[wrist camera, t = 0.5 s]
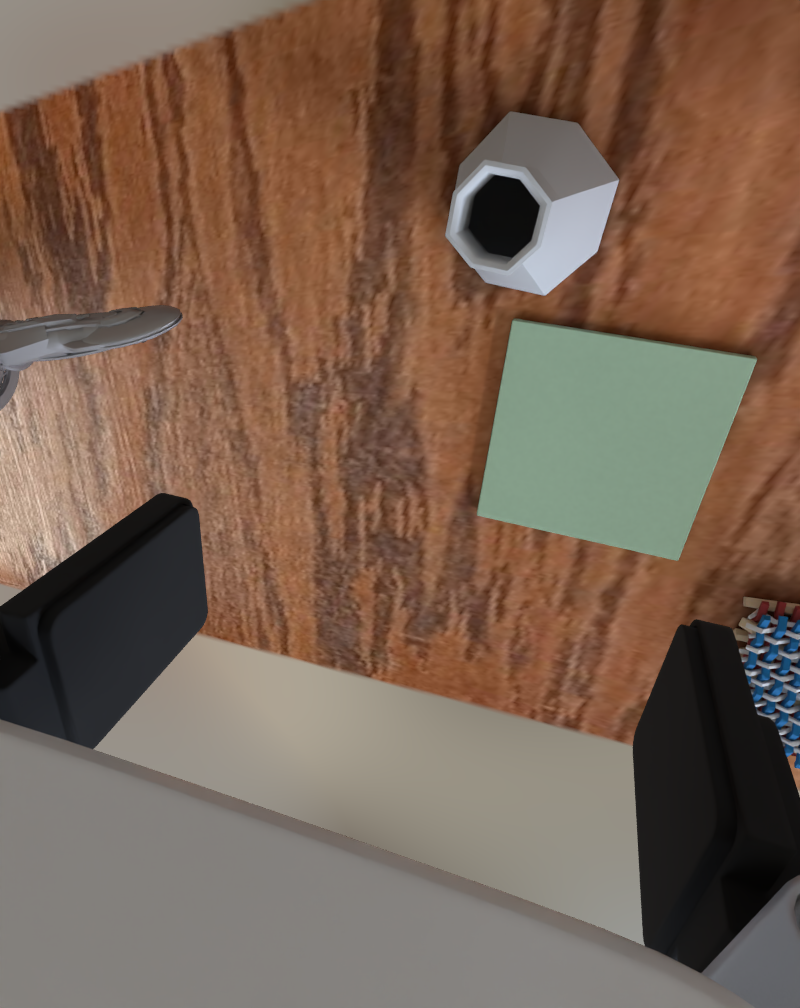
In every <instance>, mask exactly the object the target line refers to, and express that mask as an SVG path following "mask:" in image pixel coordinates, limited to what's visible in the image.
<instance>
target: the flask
mask: <svg viewBox="0 0 800 1008" xmlns="http://www.w3.org/2000/svg"><path fill="white" fill-rule="evenodd" d="M618 182H619V179H618V177H617V176H616V175H615V173H614V172H613V170H612V169H611V168H610V166H609V165H608V164H607V162H606V161H605V160H604V158H603V157H602V155H601V154H600V153H599V151H598V150H597V149H596V147H595V146H594V144H593V143H592V142H591V140H590V139H589V138H588V136H587V135H586V134H585V132H584V131H583V129H582V128H581V127H580V125H579V124H578V123H575V122H570V121H564V120H558V119H552V118H546V117H541V116H535V115H529V114H523V113H517V112H511V111H510V112H509V113H508V114H507V115H506V116H505V117H504V118H503V119H502V120H501V122H500V123H499V124H498V125H497V126H496V127H495V128H494V129H493V130H492V131H491V132H490V133H489V134H488V135H487V137H486V138H485V139H484V140H483V141H482V142H481V143H480V144H479V145H478V146H477V147H476V148H475V149H474V150H473V151H472V153H471V154H470V155H469V156H468V157H467V158H466V159H465V160H464V161H463V162H462V163H461V164H460V166H459V171H458V176H457V182H456V187H455V191H454V192H453V196H452V202H451V207H450V213H449V218H448V224H447V229H446V234H445V236H446V238H447V239H448V240H449V241H450V243H451V244H452V245H453V246H454V248H455V249H456V250H457V251H458V252H459V254H460V255H461V256H462V257H463V259H464V260H465V261H466V262H467V264H468V265H469V266H470V267H471V268H474V269H475V270H476V271H477V272H478V274H479V275H480V276H481V277H482V279H483V280H484V281H485V282H486V283H490V284H494V285H499V286H503V287H508V288H512V289H517V290H521V291H526V292H530V293H535V294H539V295H544V296H545V295H546V294H548V293H549V292H550V291H551V290H552V289H553V288H555V287H556V286H557V285H558V284H559V283H561V282H562V281H563V280H564V279H565V278H567V277H568V276H569V275H570V274H571V273H572V272H574V271H575V270H576V269H577V268H578V267H580V266H581V265H582V264H583V263H584V262H586V261H587V260H588V259H589V258H590V257H591V256H593V255H594V254H595V253H596V252H597V251H598V248H599V244H600V241H601V238H602V234H603V231H604V228H605V225H606V221H607V218H608V215H609V212H610V208H611V205H612V202H613V199H614V195H615V192H616V189H617V185H618Z"/></svg>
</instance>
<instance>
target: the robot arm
mask: <svg viewBox="0 0 800 1008" xmlns="http://www.w3.org/2000/svg"><path fill="white" fill-rule="evenodd" d="M207 613H208V607H207V597H206V586H205V575H204V565H203V554H202V543H201V533H200V522H199V514H198V511H197V509H196V508H194V507H193V505H192V503H191V501H190V500H188V499H186V498H182V497H178V496H174V495H169V494H165V493H160V494H158V495H156V496H155V497H153V498H152V499H150V500H149V501H148V502H146V503H145V504H143V505H142V506H141V507H139V508H138V509H136V510H135V511H134V512H132V513H131V514H129V515H128V516H127V517H125V518H124V519H122V520H121V521H119V522H118V523H117V524H115V525H114V526H112V527H111V528H110V529H108V530H107V531H105V532H104V533H103V534H101V535H100V536H98V537H97V538H96V539H94V540H93V541H91V542H90V543H89V544H87V545H86V546H84V547H83V548H82V549H80V550H79V551H77V552H76V553H75V554H73V555H72V556H70V557H69V558H68V559H66V560H65V561H63V562H62V563H61V564H59V565H58V566H56V567H55V568H53V569H52V570H51V571H49V572H48V573H46V574H45V575H44V576H42V577H41V578H39V579H38V580H37V581H35V582H34V583H32V584H31V585H30V586H28V587H27V588H25V589H24V590H23V591H21V592H20V593H18V594H17V595H16V596H14V597H13V598H11V599H10V600H9V601H7V602H6V603H4V604H3V605H2V606H0V1008H800V797H799V793H798V790H797V787H796V784H795V781H794V778H793V775H792V772H791V768H790V765H789V762H788V759H787V756H786V753H785V750H784V747H783V744H782V740H781V737H780V734H779V731H778V729H777V727H776V724H775V722H774V721H773V720H772V719H770V718H769V717H765V716H761V715H758V714H757V710H756V707H755V703H754V700H753V697H752V693H751V690H750V686H749V683H748V679H747V676H746V673H745V669H744V666H743V662H742V659H741V655H740V652H739V649H738V645H737V642H736V638H735V635H734V632H733V630H732V629H731V628H730V627H726V626H722V625H718V624H714V623H710V622H705V621H701V620H697V619H696V620H694V621H693V622H692V623H691V625H690V626H686V625H680V626H679V627H678V629H677V631H676V633H675V636H674V638H673V640H672V643H671V645H670V648H669V650H668V653H667V655H666V658H665V660H664V662H663V665H662V667H661V670H660V672H659V675H658V677H657V679H656V682H655V684H654V687H653V689H652V692H651V694H650V697H649V699H648V701H647V704H646V706H645V709H644V711H643V714H642V716H641V719H640V721H639V723H638V726H637V728H636V731H635V735H634V741H633V763H634V781H635V799H636V817H637V835H638V852H639V871H640V889H641V906H642V907H641V908H642V926H643V939H644V944H645V946H643V945H641V944H638V943H636V942H634V941H631V940H629V939H626V938H624V937H622V936H619V935H617V934H615V933H612V932H610V931H608V930H605V929H603V928H600V927H597V926H595V925H592V924H589V923H587V922H584V921H581V920H578V919H575V918H573V917H570V916H568V915H565V914H562V913H560V912H557V911H554V910H551V909H549V908H546V907H543V906H540V905H538V904H535V903H532V902H530V901H527V900H524V899H522V898H519V897H516V896H513V895H511V894H508V893H506V892H502V891H500V890H497V889H495V888H491V887H489V886H486V885H483V884H480V883H477V882H475V881H472V880H469V879H466V878H463V877H460V876H458V875H455V874H452V873H449V872H446V871H443V870H440V869H438V868H434V867H432V866H429V865H426V864H423V863H421V862H417V861H415V860H412V859H409V858H406V857H404V856H401V855H398V854H395V853H392V852H389V851H387V850H384V849H381V848H378V847H375V846H372V845H369V844H367V843H364V842H361V841H358V840H355V839H352V838H349V837H347V836H343V835H341V834H338V833H335V832H332V831H329V830H326V829H324V828H321V827H318V826H315V825H312V824H309V823H306V822H303V821H301V820H298V819H295V818H292V817H289V816H286V815H283V814H280V813H277V812H275V811H272V810H269V809H266V808H263V807H260V806H257V805H254V804H251V803H248V802H246V801H243V800H240V799H237V798H234V797H231V796H228V795H225V794H222V793H219V792H217V791H214V790H211V789H208V788H205V787H202V786H199V785H196V784H193V783H190V782H188V781H185V780H182V779H178V778H176V777H172V776H170V775H167V774H164V773H161V772H158V771H155V770H152V769H149V768H146V767H143V766H140V765H137V764H134V763H132V762H129V761H126V760H122V759H120V758H117V757H114V756H111V755H108V754H105V753H102V752H99V751H96V750H93V749H94V748H95V747H96V746H97V745H98V744H99V742H100V741H101V740H102V739H103V738H104V737H105V736H106V735H107V733H108V732H109V731H110V730H111V729H112V728H113V727H114V726H115V724H116V723H117V722H118V721H119V720H120V719H121V718H122V716H123V715H124V714H125V713H126V712H127V711H128V710H129V709H130V708H131V706H132V705H133V704H134V703H135V702H136V701H137V700H138V699H139V697H140V696H141V695H142V694H143V693H144V692H145V691H146V690H147V688H148V687H149V686H150V685H151V684H152V683H153V682H154V681H155V679H156V678H157V677H158V676H159V675H160V674H161V673H162V672H163V670H164V669H165V668H166V667H167V666H168V665H169V664H170V662H172V660H173V659H174V658H175V657H176V656H177V655H178V654H179V653H180V651H181V650H182V649H183V648H184V647H185V646H186V645H187V643H188V642H189V641H190V640H191V639H192V638H193V637H194V636H195V635H196V633H197V632H198V631H199V630H200V629H201V628H202V626H203V625H204V623H205V621H206V618H207Z"/></svg>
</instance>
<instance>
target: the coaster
mask: <svg viewBox="0 0 800 1008" xmlns="http://www.w3.org/2000/svg"><path fill="white" fill-rule="evenodd" d="M756 361H757V358H756V357H755V356H750V355H744V354H737V353H731V352H725V351H718V350H712V349H706V348H699V347H693V346H687V345H680V344H674V343H668V342H661V341H655V340H649V339H642V338H636V337H630V336H623V335H617V334H611V333H604V332H598V331H592V330H585V329H579V328H573V327H566V326H560V325H554V324H547V323H541V322H535V321H528V320H522V319H516V318H514V319H513V320H512V325H511V330H510V336H509V341H508V347H507V352H506V357H505V363H504V368H503V374H502V379H501V385H500V390H499V396H498V401H497V406H496V412H495V417H494V423H493V428H492V434H491V439H490V445H489V450H488V455H487V461H486V466H485V472H484V477H483V483H482V488H481V494H480V499H479V504H478V510H477V515H478V516H482V517H487V518H491V519H496V520H500V521H504V522H509V523H513V524H518V525H522V526H527V527H531V528H535V529H540V530H544V531H549V532H553V533H557V534H562V535H566V536H571V537H575V538H580V539H584V540H588V541H593V542H597V543H602V544H606V545H610V546H615V547H619V548H624V549H628V550H633V551H637V552H641V553H646V554H650V555H655V556H659V557H663V558H668V559H672V560H677V561H678V560H679V557H680V555H681V552H682V549H683V547H684V544H685V542H686V539H687V537H688V534H689V532H690V529H691V527H692V524H693V521H694V519H695V516H696V514H697V511H698V509H699V506H700V504H701V501H702V499H703V496H704V493H705V491H706V488H707V486H708V483H709V481H710V478H711V476H712V473H713V471H714V468H715V465H716V463H717V460H718V458H719V455H720V453H721V450H722V448H723V445H724V443H725V440H726V437H727V435H728V432H729V430H730V427H731V425H732V422H733V420H734V417H735V415H736V412H737V409H738V407H739V404H740V402H741V399H742V397H743V394H744V392H745V389H746V387H747V384H748V381H749V379H750V376H751V374H752V371H753V369H754V366H755V364H756Z"/></svg>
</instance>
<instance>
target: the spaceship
mask: <svg viewBox="0 0 800 1008" xmlns="http://www.w3.org/2000/svg"><path fill="white" fill-rule="evenodd" d="M182 318H183V317H182V313H181V312H180V310H179V309H177V308H175V307H172V306H166V305H157V306H147V307H140V308H137V307H131V308H122V309H116V310H111V311H109V312H104V313H91V314H80V315H79V314H78V315H76V314H54V315H49V316H44V317H39V318H38V317H35V318H30V319H26V320H25V321H23V320H22V321H20V320H17V321H15V322H14V321H11V320H0V410H1V409H3V408H4V407H5V405H6V404H7V403H8V402H9V400H10V399H11V397H12V396H13V394H14V392H15V389H16V387H17V383H18V379H19V371H21V370H24V369H26V368H28V367H29V366H30V365H31V364H32V363H33V362H34V361H49V360H59V359H67V358H74V357H80V356H85V355H90V354H95V353H99V352H103V351H106V350H110V349H114V348H120V347H125V346H128V345H133V344H137V343H140V342H142V343H143V342H145V341H146V340H149V339H153V338H154V337H156V336H158V335H161V334H163V333H165V332H167V331H169V330H170V329H172V328H174V327H175V326H177V325H178V324H179V322H180V321H181V320H182ZM4 369H6V370H4ZM4 371H6V372H5V373H4ZM4 375H5V376H4ZM3 377H4V380H3ZM2 381H3V383H2Z"/></svg>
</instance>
